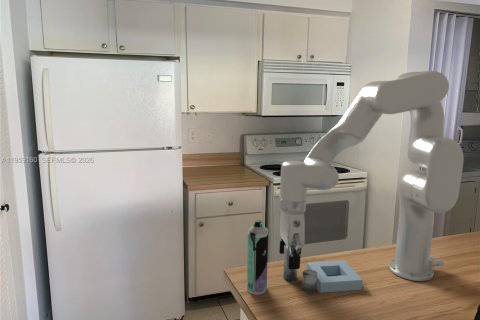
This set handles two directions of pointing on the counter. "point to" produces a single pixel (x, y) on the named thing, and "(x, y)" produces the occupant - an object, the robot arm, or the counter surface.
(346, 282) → the collar block
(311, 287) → the short pin
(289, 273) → the long pin
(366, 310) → the counter surface
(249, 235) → the spray can
